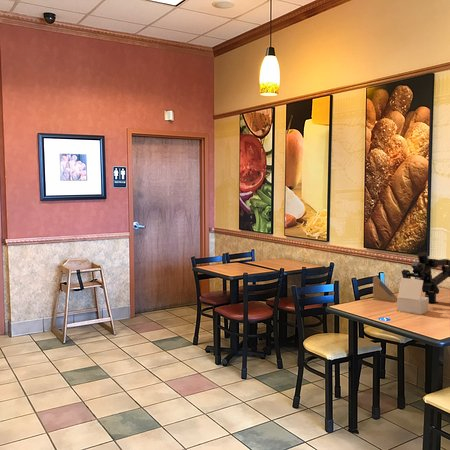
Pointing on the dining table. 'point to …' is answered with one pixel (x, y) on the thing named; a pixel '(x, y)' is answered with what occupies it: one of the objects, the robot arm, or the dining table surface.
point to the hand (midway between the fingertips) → (409, 283)
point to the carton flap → (410, 289)
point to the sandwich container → (382, 291)
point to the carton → (413, 305)
